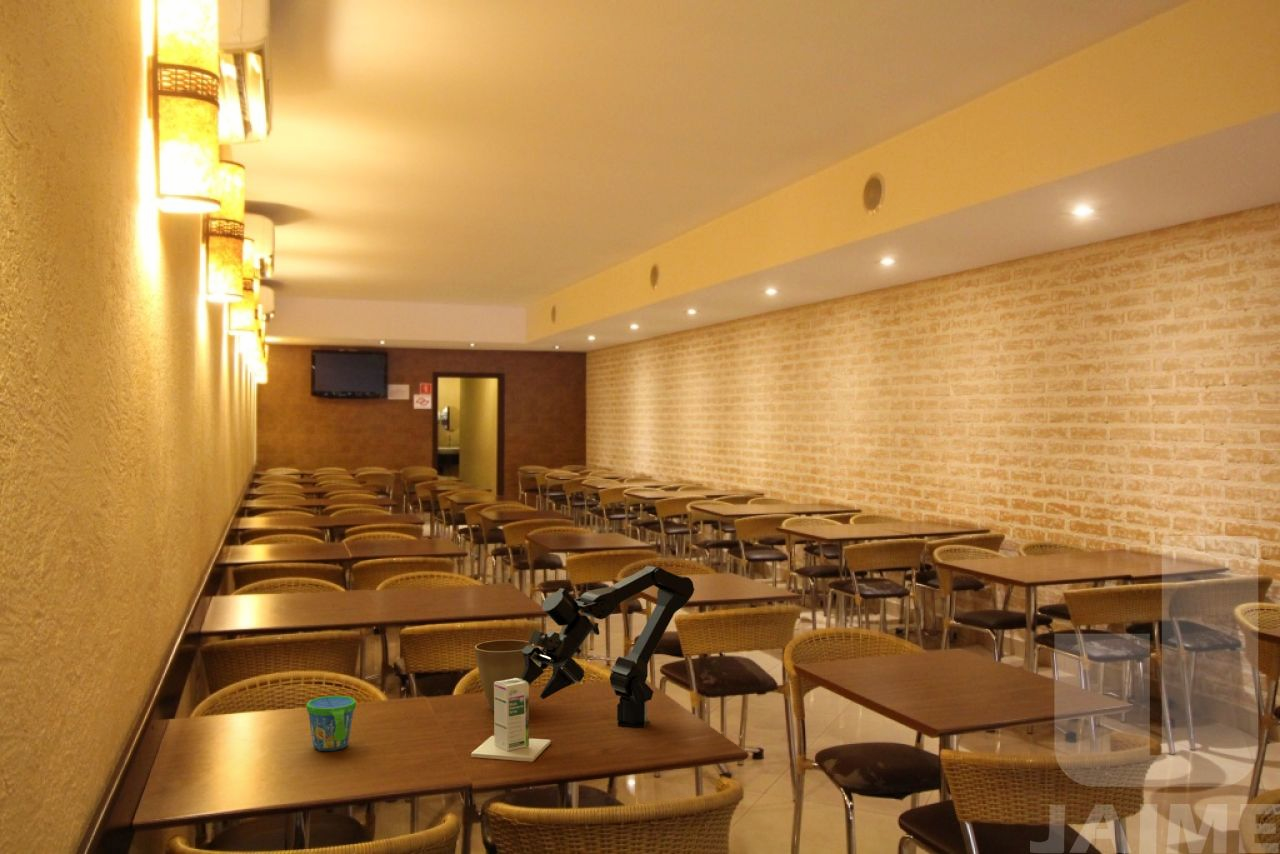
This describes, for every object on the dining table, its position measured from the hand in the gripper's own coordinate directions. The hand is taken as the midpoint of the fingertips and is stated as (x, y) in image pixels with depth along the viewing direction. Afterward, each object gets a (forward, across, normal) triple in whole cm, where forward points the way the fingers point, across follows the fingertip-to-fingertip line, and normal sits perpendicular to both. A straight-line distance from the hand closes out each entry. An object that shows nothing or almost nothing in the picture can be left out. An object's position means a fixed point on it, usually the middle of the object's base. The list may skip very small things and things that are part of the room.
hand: (530, 693), depth 232 cm
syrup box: (+11, 0, +4) cm, 12 cm away
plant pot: (+1, -30, +16) cm, 35 cm away
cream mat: (+12, 0, +5) cm, 13 cm away
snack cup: (+34, -26, -17) cm, 46 cm away
